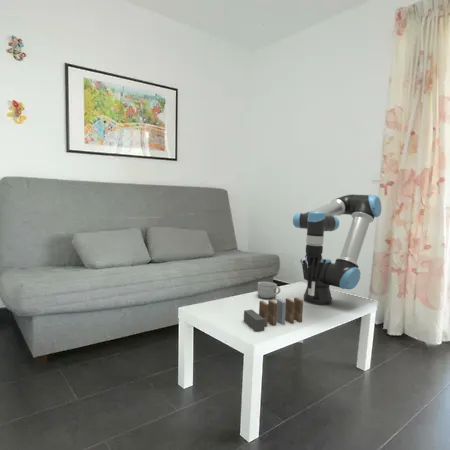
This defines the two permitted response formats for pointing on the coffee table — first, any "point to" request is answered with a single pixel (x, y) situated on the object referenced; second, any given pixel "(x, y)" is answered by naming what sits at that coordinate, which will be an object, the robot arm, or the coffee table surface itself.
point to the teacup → (267, 289)
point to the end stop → (254, 320)
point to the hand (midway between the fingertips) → (311, 294)
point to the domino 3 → (281, 311)
